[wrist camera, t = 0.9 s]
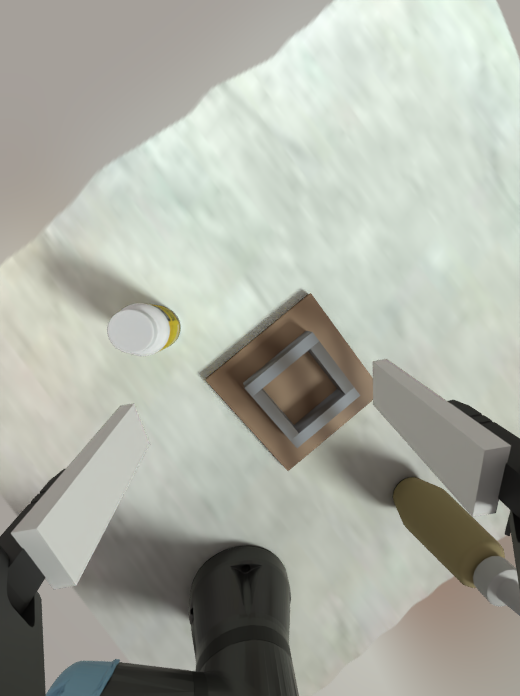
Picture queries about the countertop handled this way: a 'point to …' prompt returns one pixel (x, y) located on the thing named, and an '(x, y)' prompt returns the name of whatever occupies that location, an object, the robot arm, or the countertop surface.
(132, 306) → the supplement bottle
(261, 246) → the countertop surface
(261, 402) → the socket holder
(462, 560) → the squeeze bottle
